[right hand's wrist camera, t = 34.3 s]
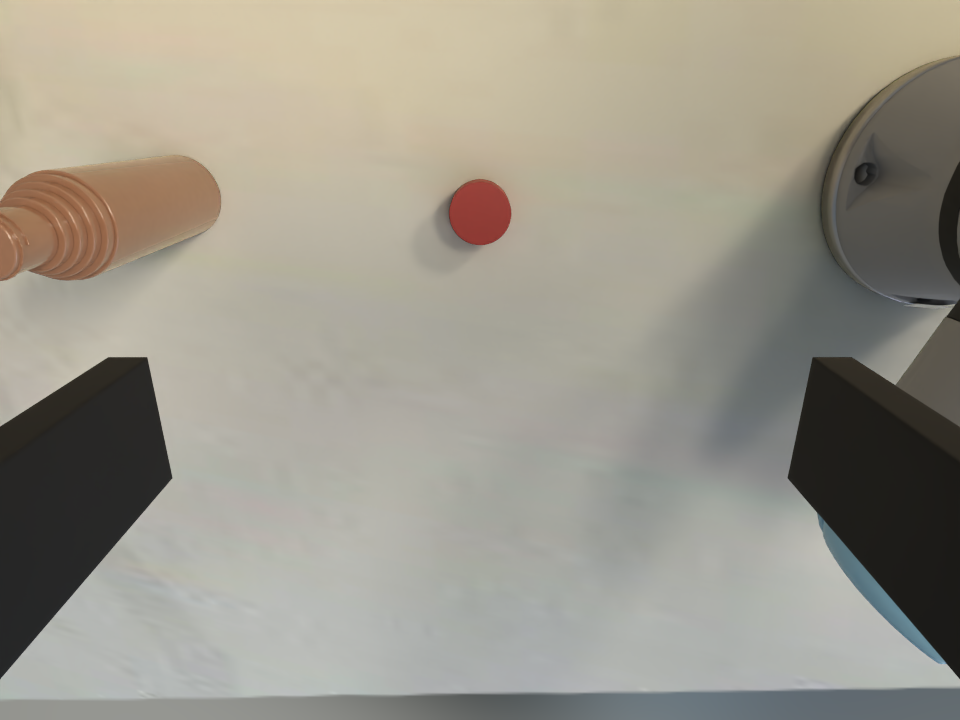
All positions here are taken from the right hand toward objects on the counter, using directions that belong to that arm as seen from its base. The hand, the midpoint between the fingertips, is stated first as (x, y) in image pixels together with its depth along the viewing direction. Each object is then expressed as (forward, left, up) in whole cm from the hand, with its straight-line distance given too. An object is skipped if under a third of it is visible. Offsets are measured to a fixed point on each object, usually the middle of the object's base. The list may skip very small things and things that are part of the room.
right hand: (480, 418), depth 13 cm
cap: (0, 0, -29) cm, 29 cm away
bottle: (+15, -13, -31) cm, 36 cm away
